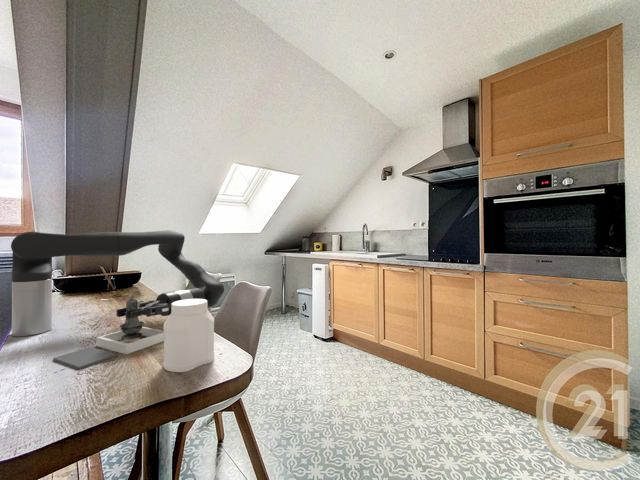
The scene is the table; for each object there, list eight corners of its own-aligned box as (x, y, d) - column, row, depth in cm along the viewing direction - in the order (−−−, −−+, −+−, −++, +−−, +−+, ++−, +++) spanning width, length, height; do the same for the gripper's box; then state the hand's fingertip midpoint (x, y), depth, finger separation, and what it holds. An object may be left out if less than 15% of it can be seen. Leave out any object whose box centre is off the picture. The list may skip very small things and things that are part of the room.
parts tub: (96, 346, 80) (96, 337, 80) (138, 333, 91) (138, 325, 91) (126, 354, 74) (126, 345, 74) (167, 339, 85) (167, 331, 85)
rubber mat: (53, 360, 70) (53, 357, 70) (90, 349, 78) (90, 346, 78) (79, 369, 65) (79, 367, 65) (116, 356, 73) (116, 354, 73)
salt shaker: (131, 340, 79) (131, 298, 79) (114, 339, 80) (114, 297, 80) (148, 333, 84) (148, 294, 84) (132, 332, 86) (132, 293, 86)
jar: (176, 376, 62) (176, 309, 62) (156, 364, 68) (156, 303, 68) (221, 358, 72) (221, 300, 72) (200, 349, 77) (200, 296, 77)
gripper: (161, 289, 98) (107, 298, 83) (189, 293, 92) (137, 303, 77) (161, 310, 98) (107, 324, 83) (189, 315, 92) (137, 330, 77)
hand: (122, 314), depth 80 cm, fingers closed on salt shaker, 3 cm apart
